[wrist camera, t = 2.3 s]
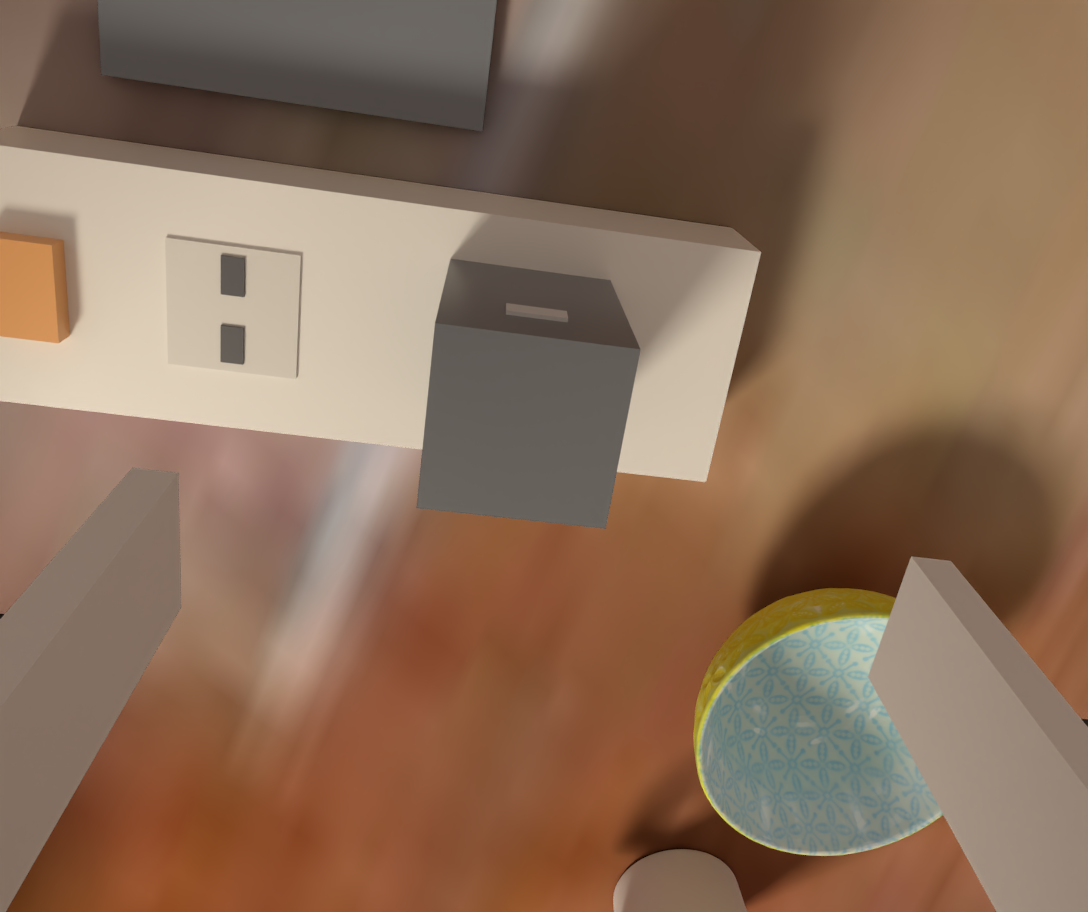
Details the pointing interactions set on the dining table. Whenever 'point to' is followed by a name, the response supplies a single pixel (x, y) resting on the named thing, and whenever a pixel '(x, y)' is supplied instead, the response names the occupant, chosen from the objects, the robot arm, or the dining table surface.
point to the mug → (678, 884)
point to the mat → (312, 52)
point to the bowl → (808, 730)
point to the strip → (323, 293)
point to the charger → (526, 395)
